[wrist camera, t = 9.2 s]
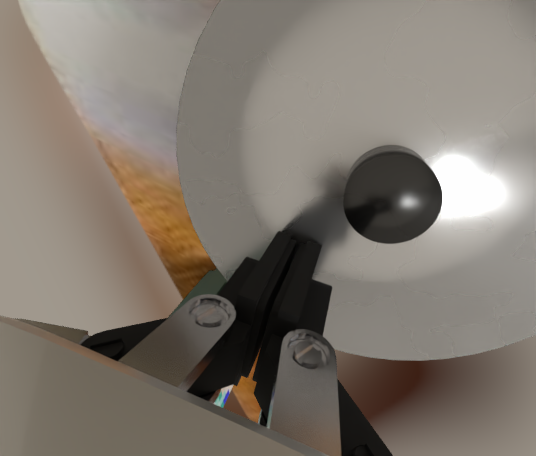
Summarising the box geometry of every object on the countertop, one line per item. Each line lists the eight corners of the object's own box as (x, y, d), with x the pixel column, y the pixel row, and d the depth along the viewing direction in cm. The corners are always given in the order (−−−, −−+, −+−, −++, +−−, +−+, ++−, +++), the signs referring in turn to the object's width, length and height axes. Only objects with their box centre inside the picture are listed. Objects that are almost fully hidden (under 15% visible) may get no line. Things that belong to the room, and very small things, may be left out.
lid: (937, -63, 6) (1279, -148, 4) (516, 394, 12) (548, 462, 10) (212, -153, 8) (156, -241, 6) (179, 277, 15) (146, 312, 12)
